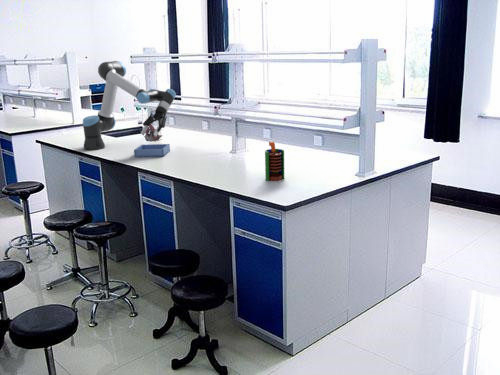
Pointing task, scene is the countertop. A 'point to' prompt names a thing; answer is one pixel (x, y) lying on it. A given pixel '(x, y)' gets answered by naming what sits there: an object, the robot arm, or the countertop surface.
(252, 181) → the countertop surface
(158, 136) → the brake caliper
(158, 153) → the parts bin
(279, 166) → the motor
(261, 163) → the countertop surface
